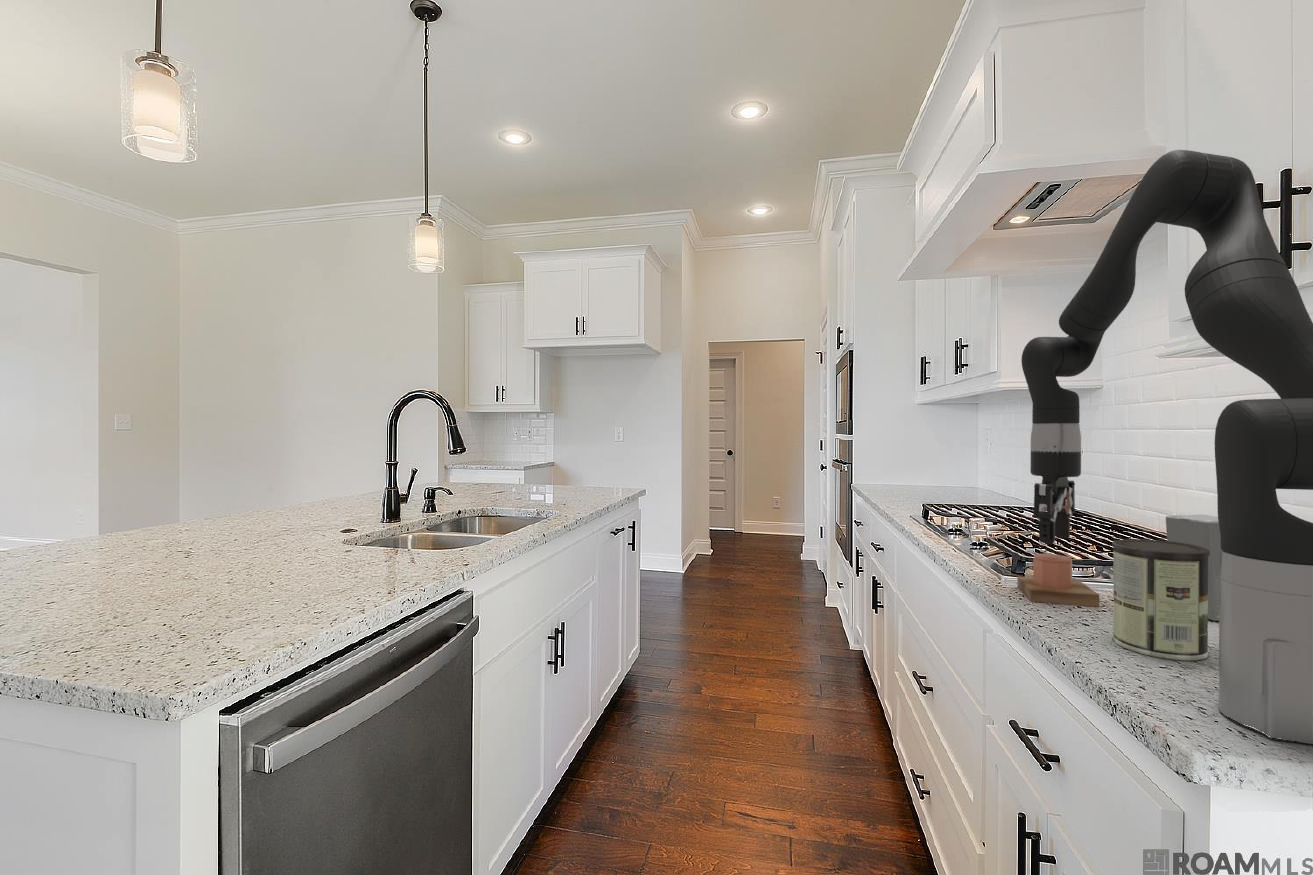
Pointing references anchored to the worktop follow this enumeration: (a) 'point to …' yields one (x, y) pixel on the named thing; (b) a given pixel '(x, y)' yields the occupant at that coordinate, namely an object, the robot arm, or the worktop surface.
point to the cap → (1052, 571)
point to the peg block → (1058, 593)
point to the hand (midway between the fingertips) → (1054, 540)
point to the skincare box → (1204, 535)
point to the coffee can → (1161, 598)
